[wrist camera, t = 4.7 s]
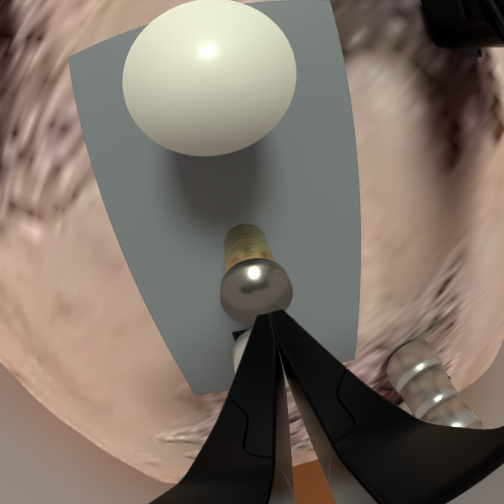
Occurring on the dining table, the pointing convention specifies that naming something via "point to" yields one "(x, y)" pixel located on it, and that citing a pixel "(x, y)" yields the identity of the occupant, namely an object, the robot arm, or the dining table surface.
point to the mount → (234, 199)
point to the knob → (209, 77)
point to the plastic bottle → (428, 387)
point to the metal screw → (252, 276)
